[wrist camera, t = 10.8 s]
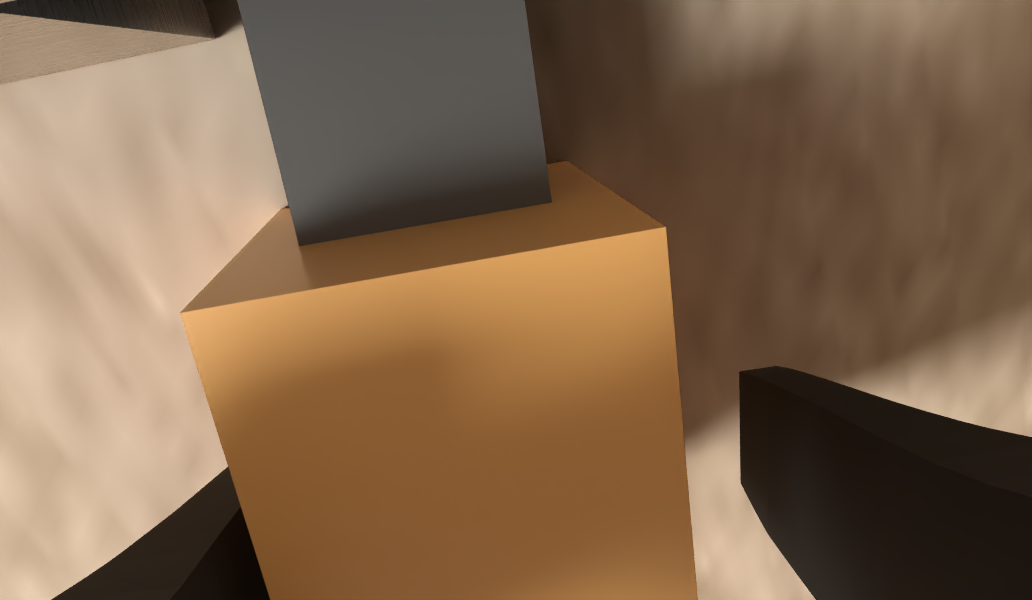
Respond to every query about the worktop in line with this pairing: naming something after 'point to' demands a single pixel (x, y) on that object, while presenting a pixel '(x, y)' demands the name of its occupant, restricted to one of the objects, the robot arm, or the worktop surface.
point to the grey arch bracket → (92, 32)
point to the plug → (441, 329)
